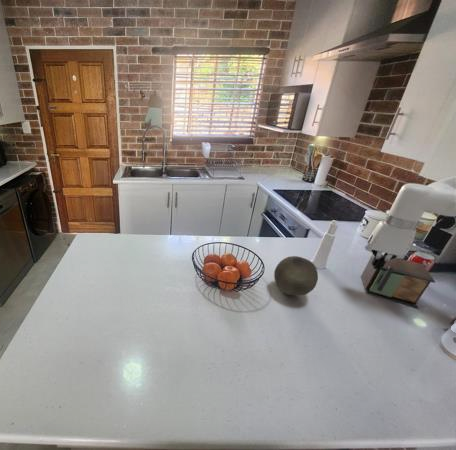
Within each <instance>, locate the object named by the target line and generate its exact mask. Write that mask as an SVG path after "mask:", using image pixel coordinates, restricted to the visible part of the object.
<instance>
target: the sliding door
mask: <svg viewBox="0 0 456 450" xmlns="http://www.w3.org/2000/svg"><path fill="white" fill-rule="evenodd" d="M393 270H394V268H393V267H390V266H389V267H388V269H387V270H382V269H381V270H380V272H379V274H378V276H377V278H376V279H375V281H374V283H373V285H372V287H371V288H370V291H371V292H375V293H378V294H381V295H385V296H388V297H392V295H393V294H394V292H395V290H396V289H397V287H398V285H399V284H400V282H401V281H402V279H403V277H404V275H401V274H397V273H393Z"/></svg>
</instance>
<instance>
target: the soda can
mask: <svg viewBox="0 0 456 450" xmlns="http://www.w3.org/2000/svg"><path fill="white" fill-rule="evenodd" d="M435 259H436V258H435V257H434V255H432V254H430V253H427V252H424V251H414V253H412V254H410V256H409V257H408V259H406V260H407V261H412V262H416V263H420V264H423V265H424V267H425V268H426V270H427V271H428V272H429V273H430V271H431V270H432V268H433V266H434V265H435Z"/></svg>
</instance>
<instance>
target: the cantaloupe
mask: <svg viewBox="0 0 456 450" xmlns="http://www.w3.org/2000/svg"><path fill="white" fill-rule="evenodd" d="M311 261H312V260H310V259H308V258H304V257H301V256H298V255H297V256H296V255H292V256H287V257H285V258H283V259H282V260H280V261H279V262H278V264H277V265H276V267H275V268H274V272H273V273H274V274H273V277H274V282H275V285H276V287H277V288H278V289H279V290H280V291H281V292H282V293H284V294H285V295H289V296H297V297H301V296H306V295H308V294H309V293H311V292H312V291H313V290H314V289H315V288H316V285H317V284H318V279H319V275H318V270H317V269H318V268H316V267H315V266H314V264H313V263H312V262H311Z"/></svg>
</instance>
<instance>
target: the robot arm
mask: <svg viewBox="0 0 456 450" xmlns="http://www.w3.org/2000/svg"><path fill="white" fill-rule="evenodd" d="M425 212H429V213H433V214H436V215H440V216H444V217H456V175H453V176H449V177H446V178H442V179H440V180H436V181H434V182H431V183H430V184H422V183H421V184H420V183H411V182H409V183H405V184H403V185H402V186H401V188H400V189H399V191H398V193H397V195H396V197H395V199H394V200H393V203H392V205H391V207H390V209H389V211H388V213H387V214H386V217H385V219H384V220H383V219H382V220H380V221H379V222H378V223H377V225H376V226H375V228H374V229H373V230H372V232H371V234H370V235H369V237H368V239H367V241H366V242H367V244H366V245H365V246H364V250H365V251H367V252H369V253H372V254H374V256H375V257H374V259H373V261H372V263H371V264H372V265H373V268H374V269H377V270H380V269H381V267H382V268H383V266H384V265H385V263H386V261H389V260H390V259H394V258H399V259H403V260H404V259H405V257H406V255H408V253H409V251H410V249H411V247H412V245H413V243H414V240H415V238H416V233H417V227H423V226H424V222H422V221H420V220H421V218H422V216H423V215H424V213H425ZM381 254H382V255H383V256H382V257H381Z"/></svg>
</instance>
